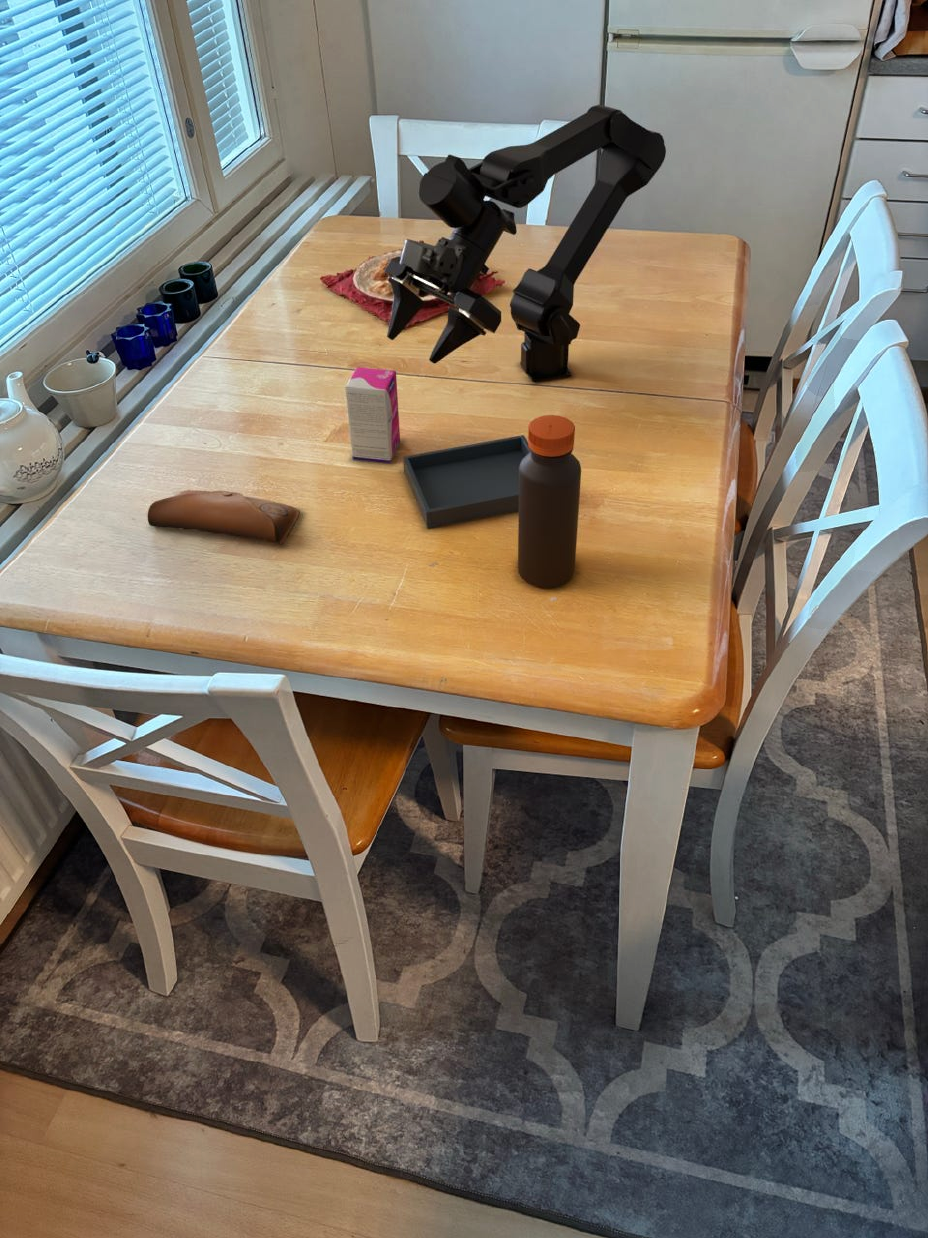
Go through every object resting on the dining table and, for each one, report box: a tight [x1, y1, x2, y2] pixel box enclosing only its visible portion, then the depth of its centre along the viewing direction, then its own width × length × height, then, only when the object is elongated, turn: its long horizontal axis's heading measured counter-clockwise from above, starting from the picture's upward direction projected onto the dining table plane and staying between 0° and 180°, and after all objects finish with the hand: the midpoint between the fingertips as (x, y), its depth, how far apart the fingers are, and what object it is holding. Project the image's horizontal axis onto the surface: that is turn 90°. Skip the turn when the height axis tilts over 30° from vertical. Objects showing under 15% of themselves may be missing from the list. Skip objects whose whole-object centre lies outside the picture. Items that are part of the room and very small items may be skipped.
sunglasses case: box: [146, 489, 301, 545], centre depth 121 cm, size 18×7×7 cm
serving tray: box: [402, 434, 530, 530], centre depth 125 cm, size 17×13×3 cm
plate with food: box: [319, 239, 506, 328], centre depth 171 cm, size 24×26×4 cm
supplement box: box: [344, 366, 401, 464], centre depth 129 cm, size 6×6×12 cm
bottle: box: [517, 414, 582, 589], centre depth 106 cm, size 7×7×20 cm
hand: (410, 349), depth 128 cm, fingers open, 9 cm apart
